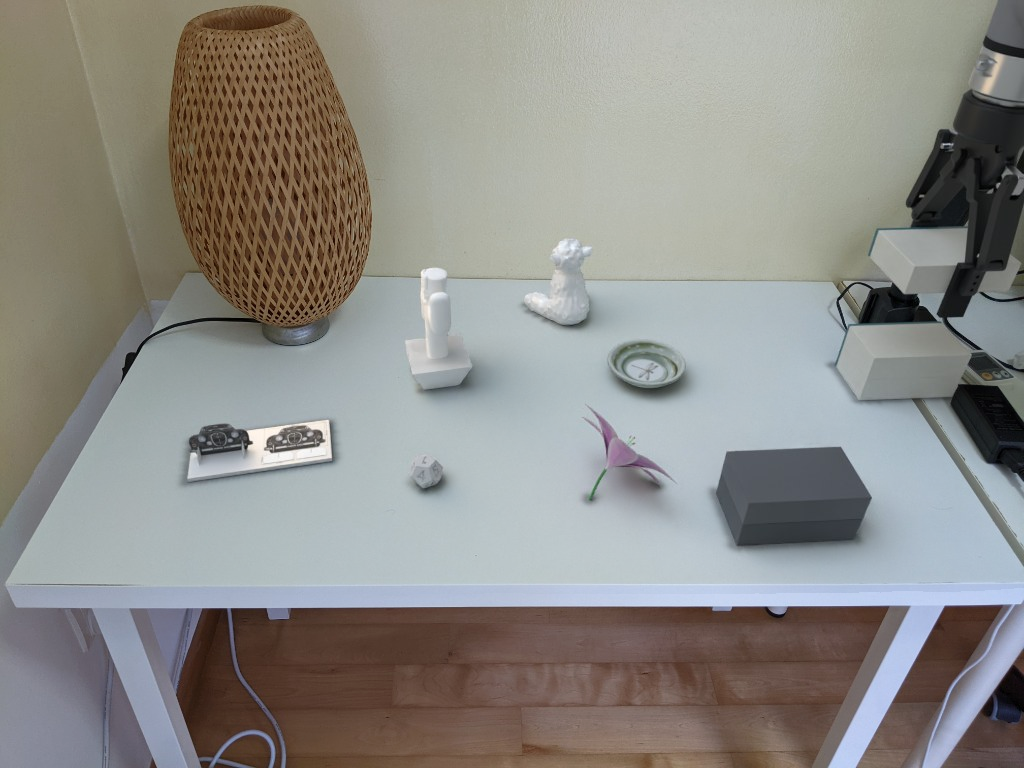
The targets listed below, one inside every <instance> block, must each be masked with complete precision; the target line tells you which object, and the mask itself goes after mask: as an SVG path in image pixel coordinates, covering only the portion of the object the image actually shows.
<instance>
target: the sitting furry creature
mask: <svg viewBox="0 0 1024 768" xmlns="http://www.w3.org/2000/svg"><path fill="white" fill-rule="evenodd" d="M593 251H594V248H593V246H588V245H586V246H583V245H582V241H580V240H579V239H577V238H574V237H568V238H564V239H562V240H559V242H558V244H557V245H556V246H555V247H554V248H552V252H551V254H550V255H549V256H550V258H549V260H550V262H551V263H552V264H553V266H554V267H555V269H554V270H553V272H554V273H553V274H552V275H551V280H550V282H549V284H550V291H549V296H547V295H546V294H545V293H544V292H538V291H534V292H529V293H527V294H526V295H524V304H525V306H526V307H527V308H528V309H529V310H530V312H534V313H536V314H537V315H540V316H542V317H543V318H546V319H548V320H550V321H553V322H555V323H556V324H558V325H561V326H572V325H577V324H580V323H581V322H582V321H584V320H586V318H587V317H588V313H589V312H590V299H589V294H588V291H587V290H588V289H586V287H587V286H586V279H585V278H584V273H583V272H582V270H581V267H582V266H583V265H584V262H585V258H589V257H591V256H592V254H593Z"/></svg>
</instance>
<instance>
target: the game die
mask: <svg viewBox="0 0 1024 768" xmlns="http://www.w3.org/2000/svg"><path fill="white" fill-rule="evenodd" d="M443 470H444V466H443V465H442V464H441V463H440V462H439V461H438V460H437V459H436V458H434V457H433V455H431V454H429V453H424V454H420V455H418V456H415V457H414V458H413V459H412V460H411V462H410V465H409V468H408V473H407V475H408V476H409V478H411V479H412V480H413V482H415V483H416V484H417V485H418V486H419V487H420V488H422V489H427V488H429V487H433V486H436V485H437V484H438V483H439V482H440V481H441V480H442V474H443Z"/></svg>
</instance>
